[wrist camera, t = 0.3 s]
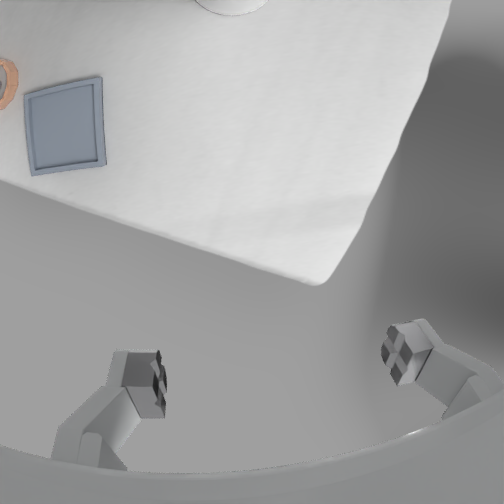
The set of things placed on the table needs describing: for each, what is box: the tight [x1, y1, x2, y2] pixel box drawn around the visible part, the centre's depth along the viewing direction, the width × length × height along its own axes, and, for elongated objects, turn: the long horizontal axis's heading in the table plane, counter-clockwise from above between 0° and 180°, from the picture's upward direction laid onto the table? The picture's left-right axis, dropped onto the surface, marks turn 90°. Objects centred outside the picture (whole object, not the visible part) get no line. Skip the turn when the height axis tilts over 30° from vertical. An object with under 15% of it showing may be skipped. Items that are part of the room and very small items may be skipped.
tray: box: [24, 77, 107, 176], centre depth 44 cm, size 16×16×2 cm
